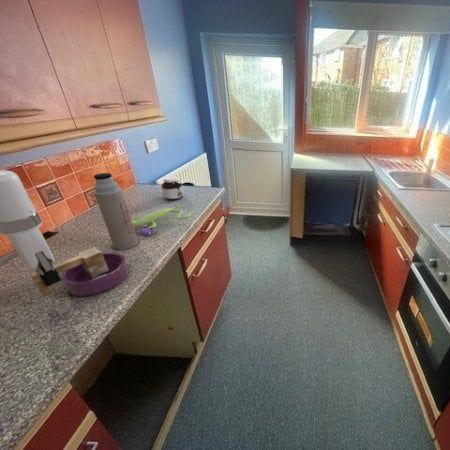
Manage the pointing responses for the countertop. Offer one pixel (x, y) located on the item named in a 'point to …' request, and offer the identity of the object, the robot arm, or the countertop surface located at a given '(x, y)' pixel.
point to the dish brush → (87, 258)
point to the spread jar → (172, 188)
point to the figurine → (154, 217)
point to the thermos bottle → (114, 212)
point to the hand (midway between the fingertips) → (51, 280)
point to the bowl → (86, 285)
